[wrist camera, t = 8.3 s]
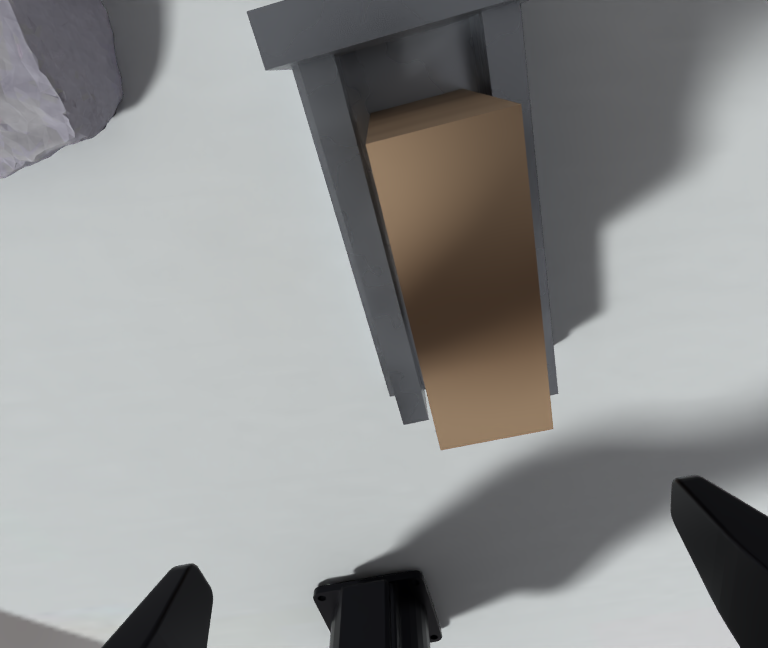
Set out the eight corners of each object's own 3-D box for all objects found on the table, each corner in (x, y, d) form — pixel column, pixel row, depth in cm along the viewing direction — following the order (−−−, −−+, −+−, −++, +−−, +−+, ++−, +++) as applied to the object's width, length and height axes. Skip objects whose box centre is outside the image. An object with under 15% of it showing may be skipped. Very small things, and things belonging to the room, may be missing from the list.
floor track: (546, 349, 21) (592, 425, 17) (389, 383, 22) (392, 464, 17) (506, -39, 15) (562, -84, 10) (284, 27, 15) (246, 11, 11)
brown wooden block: (496, 310, 19) (553, 428, 13) (420, 326, 19) (440, 450, 13) (462, 88, 15) (521, 104, 9) (370, 113, 16) (365, 144, 9)
